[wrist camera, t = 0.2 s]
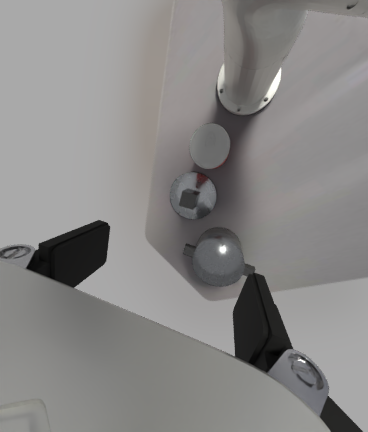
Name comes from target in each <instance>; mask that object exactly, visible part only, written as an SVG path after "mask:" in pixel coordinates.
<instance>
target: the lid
mask: <svg viewBox="0 0 368 432" xmlns="http://www.w3.org/2000/svg"><path fill="white" fill-rule="evenodd" d="M216 197H217V195H216V189H215V186H214V184H213V183H212V181H211V180H210V179H209V178H208V177H207V176H205V175H203V174H201V173H197V172H189V173H185V174H183V175H181V176H179V177H178V178H177V179H176V180H175V181H174V183H173V184H172V187H171V190H170V201H171V204H172V206H173V208H174V209H175V211H176V212H177V213H178V214H180V215H181V216H183V217H185V218H188V219H199V218H202V217H204V216H206V215H208V214H209V213H210V212H211V211H212V209H213V207H214V205H215V203H216Z"/></svg>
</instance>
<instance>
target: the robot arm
mask: <svg viewBox="0 0 368 432" xmlns="http://www.w3.org/2000/svg"><path fill="white" fill-rule="evenodd" d="M222 6H223V19H224V63H223V65H222V67H221V69H220V72H219V75H218V81H217V91H218V96H219V99H220V101H221V103H222V105H223V106H224V108H225V109H227V110H228V111H229V112H231V113H233V114H236V115H250V114H253V113H256V112H257V111H259V110H261V109H262V108H263V107H265V106H266V105H267V104H268V103H269V102H270V101H271V99H272V98H273V96H274V95H275V93H276V91H277V89H278V86H279V83H280V79H281V67H282V65H283V63H284V61H285V59H286V57H287V56H288V54H289V52H290V50H291V48H292V46H293V45H294V43H295V41H296V39H297V37H298V35H299V34H300V32H301V30H302V28H303V25H304V23H305V20H306V17H307V15H308V11H315V12H323V13H331V14H338V15H346V16H354V17H365V18H368V0H222ZM221 92H223V93H221ZM264 100H266V102H264ZM238 110H240V111H239V112H238ZM109 232H110V226H109V225H108V223H106V222H104V221H101V220H98V221H95V222H93V223H90V224H88V225H85V226H83V227H80V228H78V229H75V230H72V231H70V232H67V233H65V234H62V235H60V236H57V237H55V238H52V239H50V240H47V241H44V242H42V243H39V249H38V250H36V251H35V248H34V247H32V246H29V245H22V244H20V245H11V246H7V247H4V248H1V249H0V432H363V431H362V430H361V429H360V428H359V427H358V426H357V425H356V424H355V423H354V422H353V421H352V420H351V419H350V418H349V417H348V416H347V415H346V414H345V413H344V412H343V411H342V410H341V409H340V407H339V406H337V404H335V402H334V401H333V400H332V399H331V398H330V397H329V396H328V393H329V386H328V382H327V380H326V378H325V376H324V374H323V373H322V371H321V370H320V369H319V367H318V366H317V365H316V364H315V363H314V362H313V361H312V360H311V359H310V358H309V357H307V356H306V355H305V354H303V353H301V352H299V351H296V350H294V349H293V347H292V345H291V342H290V339H289V337H288V334H287V332H286V329H285V326H284V324H283V321H282V319H281V316H280V314H279V311H278V308H277V306H276V305H275V304H274V301H273V299H272V296H271V293H270V291H269V288H268V285H267V283H266V280H265V277H264V276H263V275H260V274H257V273H252V274H249V275H248V277H247V279H246V282H245V284H244V286H243V288H242V291H241V293H240V295H239V298H238V300H237V302H236V305H235V307H234V311H233V325H234V342H235V356H232V355H230V354H228V353H226V352H224V351H222V350H219V349H217V348H215V347H212V346H210V345H208V344H205V343H203V342H201V341H199V340H196V339H194V338H191V337H189V336H187V335H184V334H182V333H180V332H177V331H175V330H172V329H170V328H168V327H165V326H163V325H161V324H159V323H156V322H154V321H152V320H149V319H147V318H145V317H142V316H140V315H137V314H135V313H133V312H130V311H128V310H126V309H123V308H120V307H118V306H116V305H114V304H111V303H109V302H106V301H104V300H101V299H99V298H97V297H94V296H92V295H90V294H87V293H85V292H82V291H80V290H77V289H75V288H74V287H75V286H77V285H78V284H79V283H81V282H82V281H83V280H84V279H86V278H87V277H88V276H90V275H91V274H92V273H94V272H95V271H96V270H97V269H99V268H100V267H101V266H103V265H104V263H105V262H106V258H107V250H108V241H109Z"/></svg>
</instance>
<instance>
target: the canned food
mask: <svg viewBox="0 0 368 432" xmlns="http://www.w3.org/2000/svg"><path fill="white" fill-rule="evenodd" d="M189 150H190V155H191V158H192V159H193V161H194V162H195V163H196V164H197V165H198V166H199V167H202V168H205V169H214V168H218V167H220V166H221V165H223V164H224V163H225V161H226V160H227V158H228V155H229V151H230V138H229V135H228V133H227V132H226V130H225V129H224V128H223V127H222V126H220V125H218V124H215V123H208V124H204V125H202V126H200V127H199V128H198V129H197V130H196V131H195V132H194V134H193V135H192V137H191V140H190V145H189Z"/></svg>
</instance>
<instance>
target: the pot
mask: <svg viewBox="0 0 368 432" xmlns="http://www.w3.org/2000/svg"><path fill="white" fill-rule="evenodd" d="M183 254H185V255H188V256H191V257H193V258H192V265H193V269H194V271H195V273H196V274H197V276H198V277H199V278H200V279H201V280H202V281H204V282H206V283H207V284H210V285H213V286H219V287H221V286H228V285H231V284H233V283H235V282H236V281H238V280H239V279H240V277H241V276H242V275H245V276H248V275H249V274H252V273H254V272H255V267H254V266H251V265H248V264H245V263H244V258H243V253H242V248H241V243H240V241H239V239H238V237H237V236H236V235H235V234H234V233H233V232H232V231H230V230H228V229H225V228H220V227H217V228H211V229H209V230H207V231H205V232H204V233H203V234H202V235H201V237H200V239H199V241H198V244H197V247H195V246H192V245H189V244H186V245H185V248H184V252H183Z"/></svg>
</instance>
